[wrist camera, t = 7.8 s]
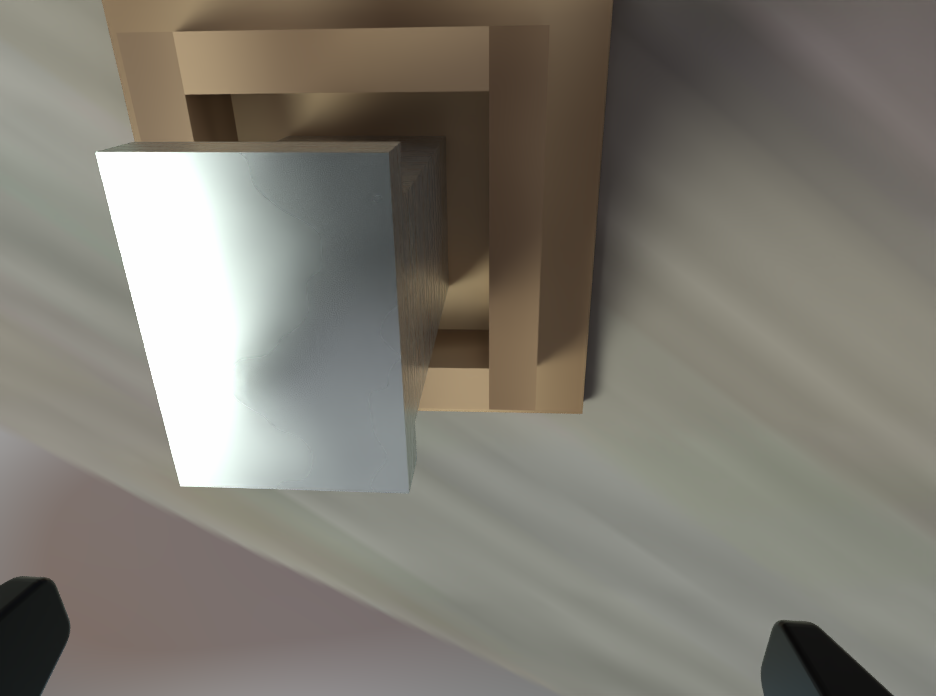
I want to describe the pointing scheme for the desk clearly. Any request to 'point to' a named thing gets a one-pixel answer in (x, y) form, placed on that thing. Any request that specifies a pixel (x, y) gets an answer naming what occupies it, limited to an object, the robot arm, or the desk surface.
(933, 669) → the desk surface
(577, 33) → the frame
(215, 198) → the stepped grey box
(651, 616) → the desk surface
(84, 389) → the desk surface
